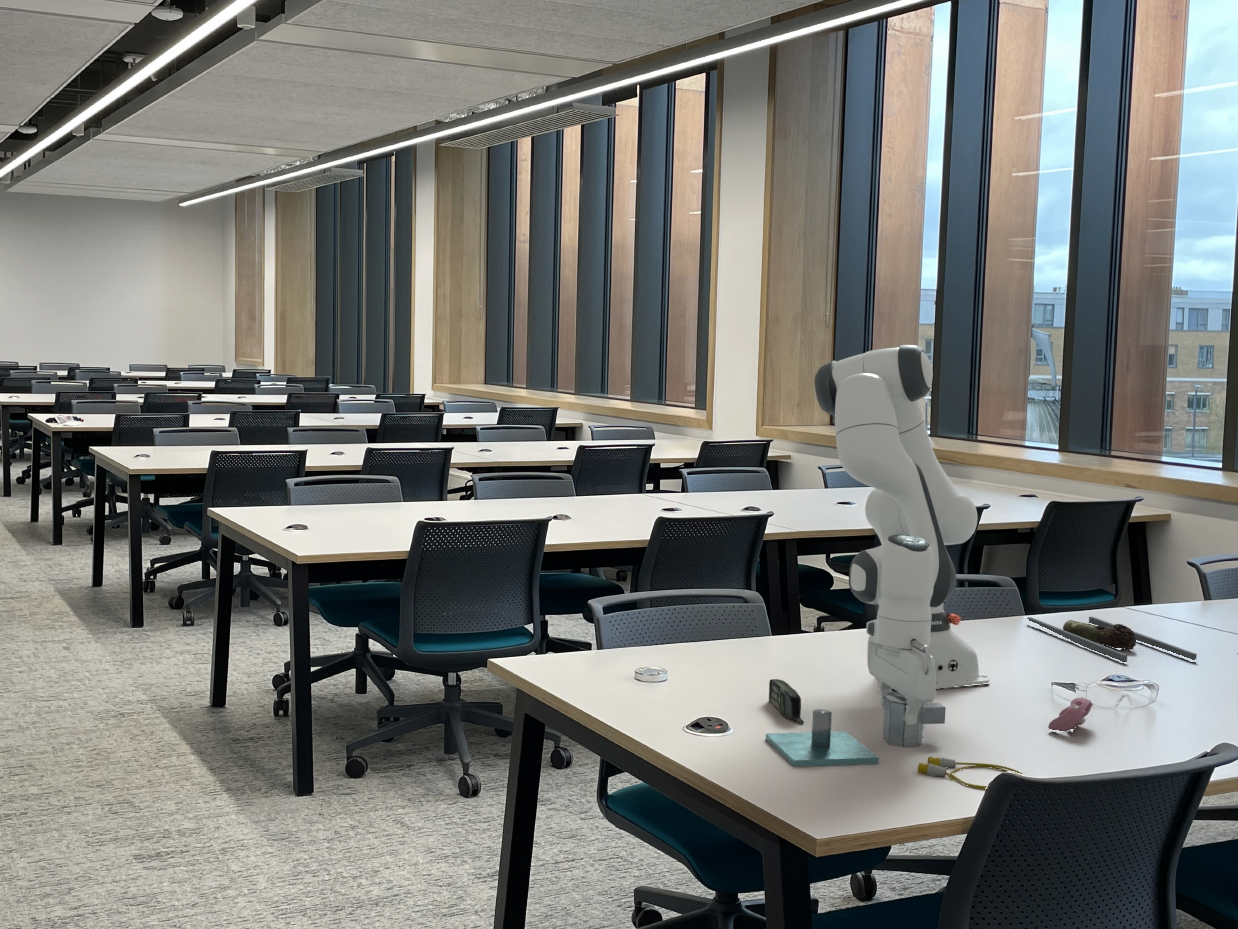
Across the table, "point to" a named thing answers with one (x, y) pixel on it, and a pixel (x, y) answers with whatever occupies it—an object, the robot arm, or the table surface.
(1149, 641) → the pipe rail right
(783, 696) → the mobile phone
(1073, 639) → the pipe rail left
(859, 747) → the flat teal square plate
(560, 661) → the table surface
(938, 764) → the yellow thin looped cord
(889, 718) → the tabbed metal cylinder
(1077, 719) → the mauve lumpy piece
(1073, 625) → the olive brown elongated piece
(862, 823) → the table surface
